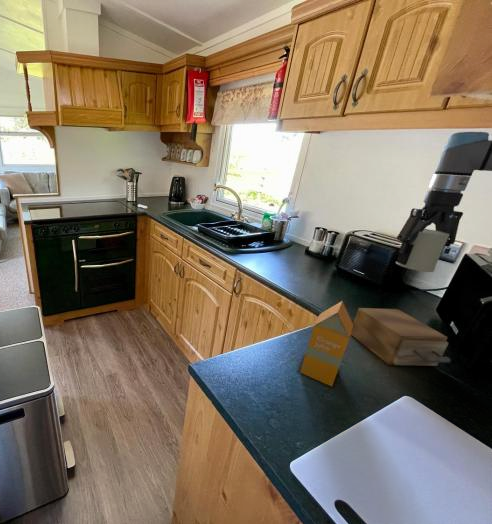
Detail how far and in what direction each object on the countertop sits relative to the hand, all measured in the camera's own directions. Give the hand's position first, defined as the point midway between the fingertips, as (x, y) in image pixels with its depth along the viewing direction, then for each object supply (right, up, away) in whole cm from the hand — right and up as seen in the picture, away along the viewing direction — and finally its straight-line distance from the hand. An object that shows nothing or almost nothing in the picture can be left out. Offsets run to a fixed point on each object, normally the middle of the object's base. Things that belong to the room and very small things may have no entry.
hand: (415, 263), depth 91 cm
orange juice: (-38, -29, -12) cm, 50 cm away
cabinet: (-9, -27, 0) cm, 28 cm away
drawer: (-8, -27, -4) cm, 29 cm away
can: (0, -1, 0) cm, 1 cm away
